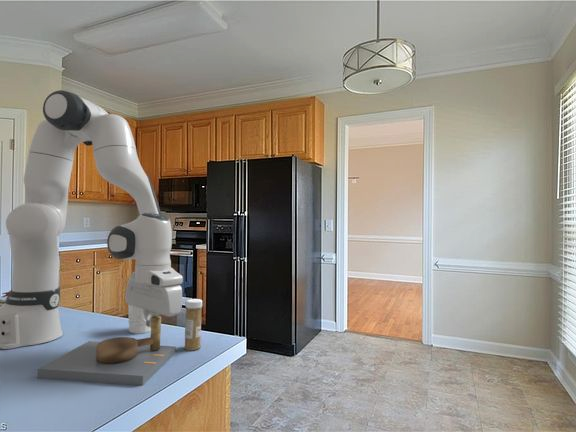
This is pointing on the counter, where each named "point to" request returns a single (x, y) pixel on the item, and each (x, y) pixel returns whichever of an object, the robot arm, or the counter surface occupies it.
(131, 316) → the white cup
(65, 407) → the counter surface
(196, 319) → the sprinkles bottle
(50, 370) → the stand
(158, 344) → the dial
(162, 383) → the counter surface
